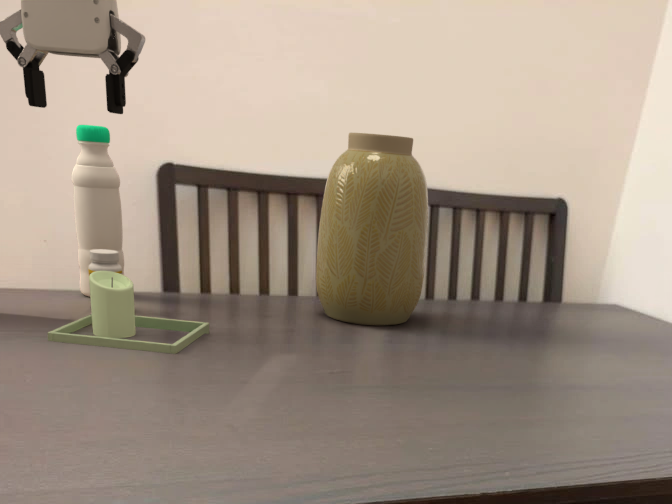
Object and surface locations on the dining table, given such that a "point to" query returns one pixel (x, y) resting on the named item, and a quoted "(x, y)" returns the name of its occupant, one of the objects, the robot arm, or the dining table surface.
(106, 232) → the water bottle
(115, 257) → the supplement bottle
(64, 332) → the tray
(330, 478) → the dining table surface
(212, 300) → the dining table surface
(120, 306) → the candle
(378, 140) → the vase
